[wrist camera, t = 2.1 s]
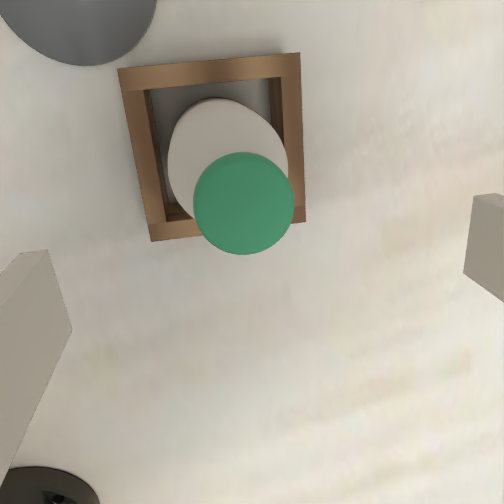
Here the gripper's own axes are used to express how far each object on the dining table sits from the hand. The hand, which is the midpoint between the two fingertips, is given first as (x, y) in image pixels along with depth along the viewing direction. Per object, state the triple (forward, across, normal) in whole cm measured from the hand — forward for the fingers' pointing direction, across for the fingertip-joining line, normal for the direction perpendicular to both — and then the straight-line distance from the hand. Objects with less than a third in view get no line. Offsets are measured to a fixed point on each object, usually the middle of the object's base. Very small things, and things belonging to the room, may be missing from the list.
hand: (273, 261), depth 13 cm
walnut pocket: (+26, 0, 0) cm, 26 cm away
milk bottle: (+26, 0, 0) cm, 26 cm away
